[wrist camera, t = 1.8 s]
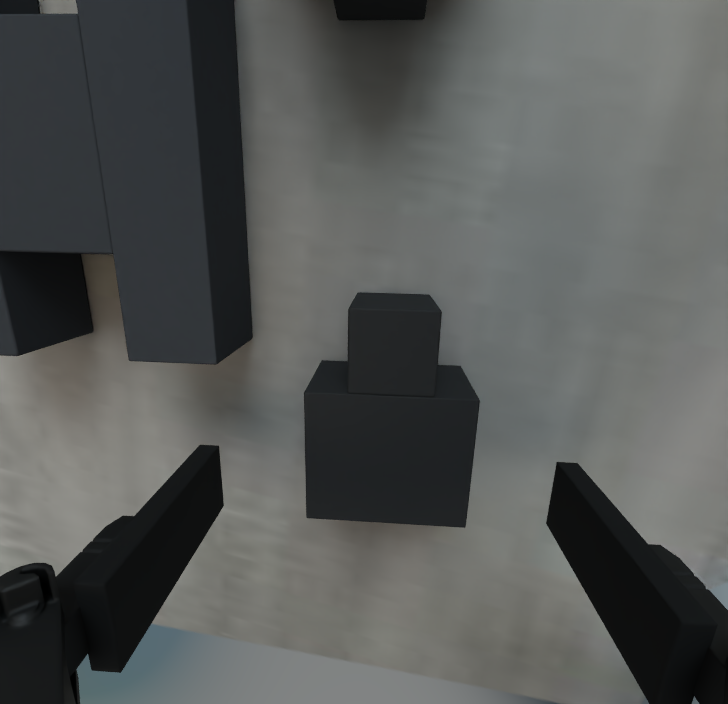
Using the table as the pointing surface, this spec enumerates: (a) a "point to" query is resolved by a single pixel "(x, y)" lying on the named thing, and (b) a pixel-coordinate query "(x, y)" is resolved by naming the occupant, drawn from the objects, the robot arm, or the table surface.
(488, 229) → the table surface
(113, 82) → the base tile
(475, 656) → the table surface
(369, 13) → the dark grey t-shaped block
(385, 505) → the dark stepped block
